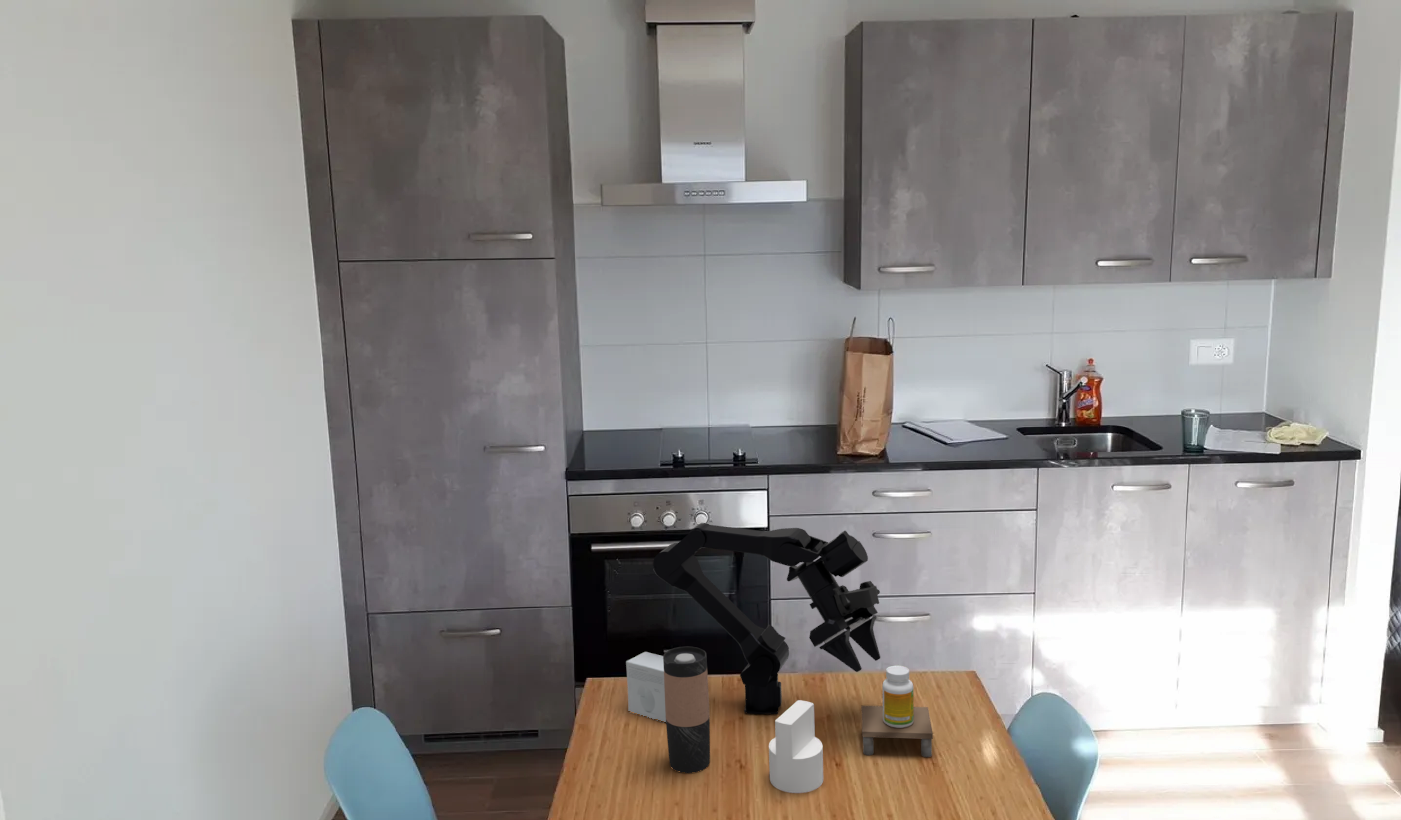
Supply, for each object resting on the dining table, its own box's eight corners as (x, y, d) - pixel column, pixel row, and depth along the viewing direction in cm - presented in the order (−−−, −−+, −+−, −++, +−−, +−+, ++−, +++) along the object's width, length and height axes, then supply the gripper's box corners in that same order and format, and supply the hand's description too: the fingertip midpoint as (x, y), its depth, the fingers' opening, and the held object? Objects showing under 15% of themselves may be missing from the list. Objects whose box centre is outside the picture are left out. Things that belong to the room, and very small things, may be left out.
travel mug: (717, 754, 179) (712, 648, 176) (703, 776, 172) (698, 666, 168) (676, 749, 181) (671, 644, 178) (661, 770, 174) (656, 661, 171)
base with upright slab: (809, 798, 164) (807, 729, 162) (760, 784, 169) (758, 717, 167) (832, 772, 171) (830, 706, 169) (784, 760, 176) (783, 695, 174)
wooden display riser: (862, 755, 177) (862, 731, 176) (861, 728, 186) (861, 705, 186) (932, 757, 175) (932, 733, 174) (928, 730, 185) (928, 707, 184)
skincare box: (690, 711, 196) (687, 660, 194) (670, 725, 191) (667, 672, 189) (647, 699, 202) (645, 649, 200) (627, 712, 197) (624, 661, 195)
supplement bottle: (917, 727, 177) (917, 675, 175) (887, 729, 176) (886, 677, 175) (908, 713, 182) (908, 662, 180) (879, 715, 181) (878, 664, 180)
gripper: (836, 575, 176) (885, 655, 171) (875, 561, 192) (921, 633, 187) (789, 606, 180) (835, 685, 176) (831, 590, 196) (874, 661, 192)
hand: (869, 665), depth 183 cm, fingers open, 9 cm apart
